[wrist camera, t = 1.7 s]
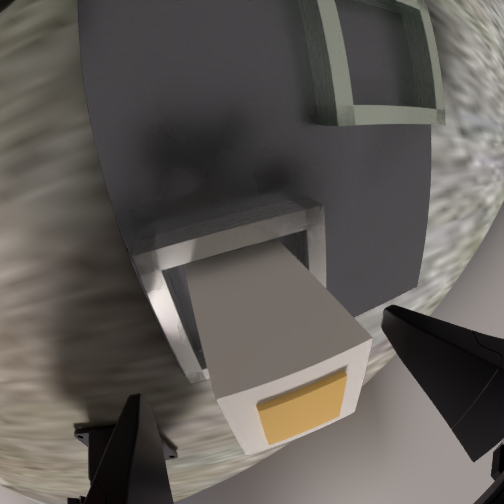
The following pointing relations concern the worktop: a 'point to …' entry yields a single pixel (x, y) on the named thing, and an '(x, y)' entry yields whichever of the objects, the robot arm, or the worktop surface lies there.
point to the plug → (275, 344)
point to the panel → (264, 140)
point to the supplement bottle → (5, 4)
